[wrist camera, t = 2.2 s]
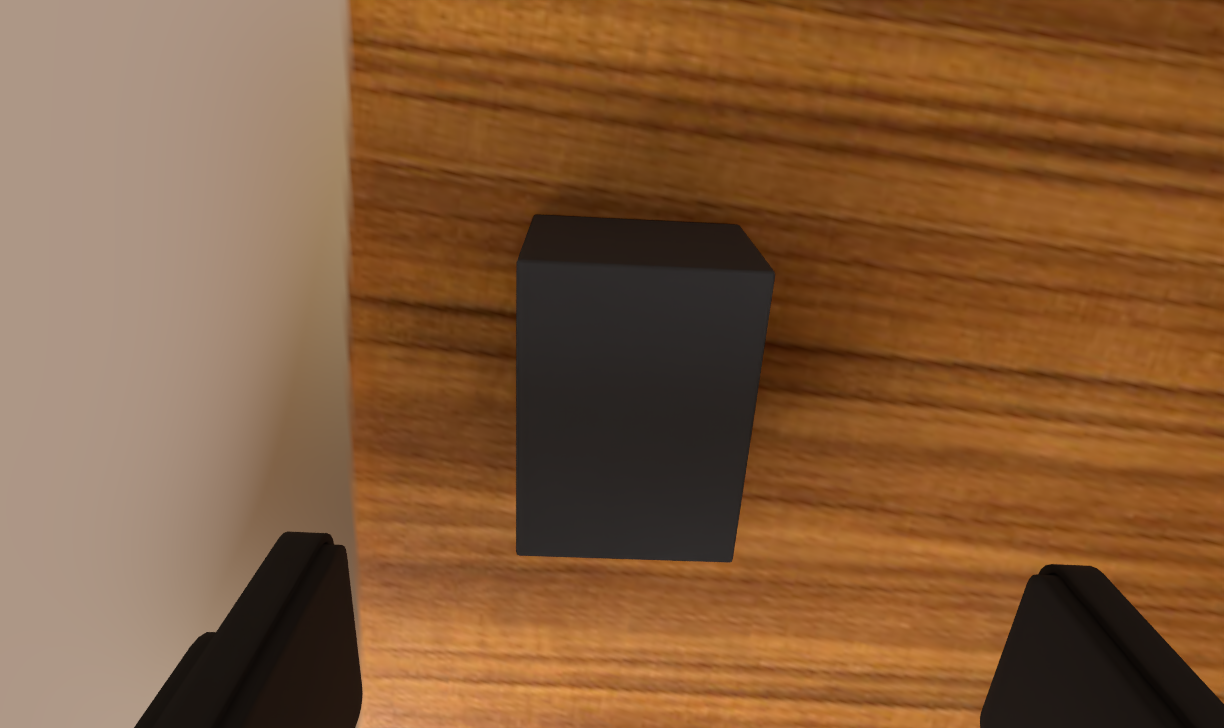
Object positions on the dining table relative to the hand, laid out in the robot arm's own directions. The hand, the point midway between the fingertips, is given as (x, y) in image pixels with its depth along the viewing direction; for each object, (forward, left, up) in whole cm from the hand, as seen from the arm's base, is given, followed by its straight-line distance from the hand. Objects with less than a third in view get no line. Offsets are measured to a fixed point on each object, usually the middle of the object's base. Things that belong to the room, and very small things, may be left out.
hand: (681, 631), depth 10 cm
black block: (0, 0, -10) cm, 10 cm away
